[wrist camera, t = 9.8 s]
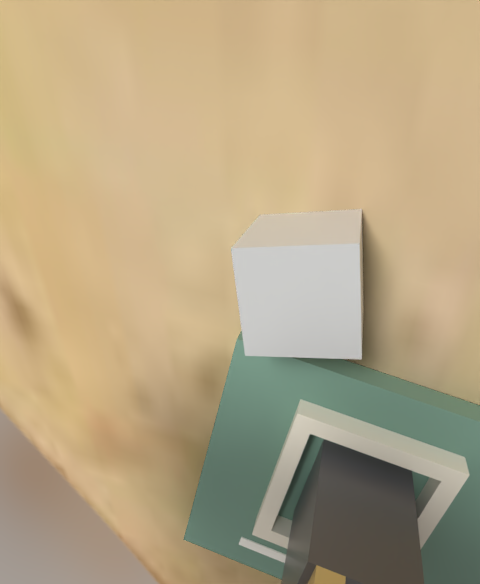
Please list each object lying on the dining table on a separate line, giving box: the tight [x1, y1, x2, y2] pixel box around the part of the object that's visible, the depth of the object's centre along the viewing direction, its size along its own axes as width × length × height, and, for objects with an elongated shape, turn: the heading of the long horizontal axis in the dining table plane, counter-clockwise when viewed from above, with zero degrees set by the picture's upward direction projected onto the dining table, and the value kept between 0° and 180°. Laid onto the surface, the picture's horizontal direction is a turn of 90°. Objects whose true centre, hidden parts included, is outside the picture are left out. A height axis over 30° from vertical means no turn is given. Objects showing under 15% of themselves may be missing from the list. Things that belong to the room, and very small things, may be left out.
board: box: [184, 331, 480, 584], centre depth 22 cm, size 16×14×2 cm
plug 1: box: [231, 209, 364, 360], centre depth 17 cm, size 4×4×4 cm
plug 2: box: [281, 439, 424, 584], centre depth 18 cm, size 4×5×7 cm
